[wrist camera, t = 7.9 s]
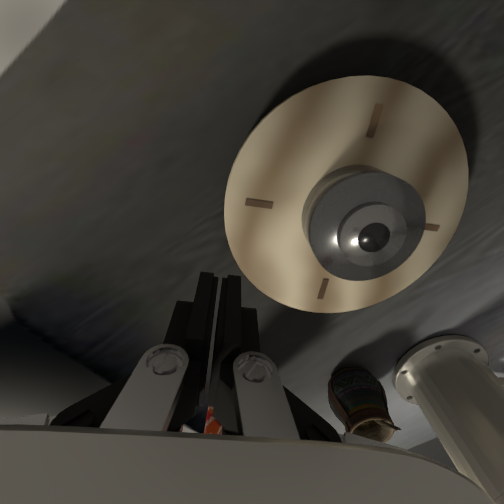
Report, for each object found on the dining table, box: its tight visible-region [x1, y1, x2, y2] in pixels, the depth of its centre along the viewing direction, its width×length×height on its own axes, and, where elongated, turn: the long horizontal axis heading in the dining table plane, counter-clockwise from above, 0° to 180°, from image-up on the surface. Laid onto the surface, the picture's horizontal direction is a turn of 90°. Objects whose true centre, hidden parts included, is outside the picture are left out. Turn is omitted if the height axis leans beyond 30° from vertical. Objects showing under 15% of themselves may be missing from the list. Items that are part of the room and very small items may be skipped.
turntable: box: [224, 75, 469, 313], centre depth 28 cm, size 22×22×2 cm
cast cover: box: [301, 165, 426, 281], centre depth 25 cm, size 9×9×5 cm
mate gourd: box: [328, 367, 401, 443], centre depth 37 cm, size 7×8×10 cm
